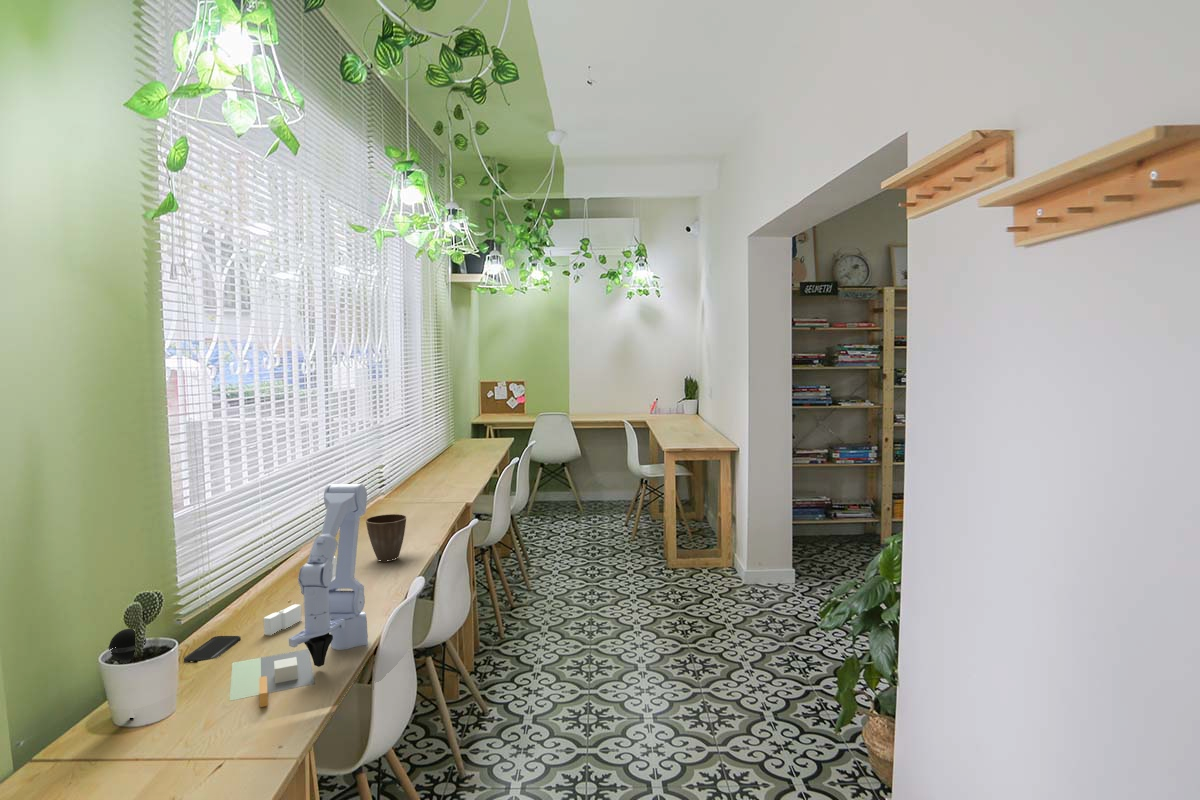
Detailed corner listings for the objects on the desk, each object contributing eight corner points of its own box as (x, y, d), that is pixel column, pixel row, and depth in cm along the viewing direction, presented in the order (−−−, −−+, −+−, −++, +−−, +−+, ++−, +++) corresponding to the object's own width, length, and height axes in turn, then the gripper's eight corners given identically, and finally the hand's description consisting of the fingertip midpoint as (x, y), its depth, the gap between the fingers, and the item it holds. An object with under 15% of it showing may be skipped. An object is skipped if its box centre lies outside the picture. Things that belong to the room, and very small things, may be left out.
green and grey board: (308, 652, 187) (308, 648, 187) (315, 687, 167) (315, 683, 167) (232, 666, 179) (232, 662, 179) (229, 705, 159) (229, 700, 159)
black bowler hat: (144, 724, 151) (139, 633, 150) (107, 729, 149) (102, 637, 148) (154, 708, 158) (150, 621, 156) (119, 713, 156) (114, 625, 154)
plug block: (296, 670, 174) (296, 656, 174) (298, 678, 169) (297, 664, 169) (274, 674, 172) (274, 660, 171) (275, 683, 167) (274, 669, 167)
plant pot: (360, 564, 264) (358, 522, 263) (377, 553, 279) (376, 513, 278) (398, 565, 263) (397, 523, 262) (413, 554, 277) (412, 514, 276)
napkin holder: (303, 617, 213) (302, 599, 213) (313, 629, 204) (312, 609, 203) (248, 629, 204) (247, 610, 204) (256, 642, 195) (255, 622, 194)
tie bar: (267, 688, 164) (266, 675, 164) (267, 705, 156) (267, 692, 156) (259, 689, 163) (259, 677, 163) (259, 707, 155) (259, 694, 155)
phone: (242, 636, 196) (211, 659, 181) (242, 639, 196) (211, 663, 182) (214, 635, 197) (181, 659, 182) (214, 639, 197) (181, 663, 182)
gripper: (331, 599, 181) (333, 650, 182) (280, 617, 169) (282, 672, 170) (349, 604, 177) (351, 656, 178) (298, 623, 165) (300, 679, 166)
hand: (319, 664), depth 174 cm, fingers closed
